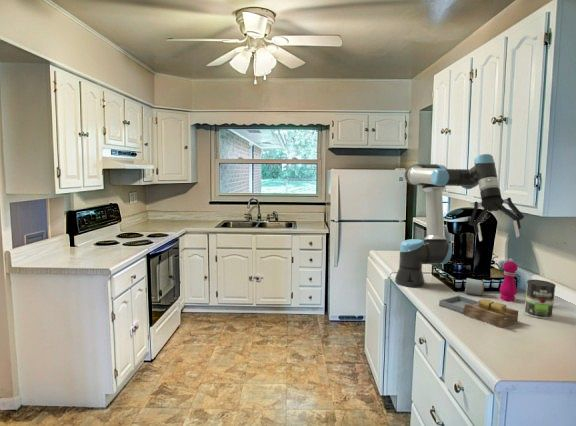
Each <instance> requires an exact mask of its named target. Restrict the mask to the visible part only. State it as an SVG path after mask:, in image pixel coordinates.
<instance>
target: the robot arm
mask: <svg viewBox="0 0 576 426" xmlns="http://www.w3.org/2000/svg"><path fill="white" fill-rule="evenodd" d="M473 161H474V162H473V163H474V165H473V166H472V167H471V168H467V169H466V168H465V169H461V168H459V169H457V168H447V167H446V166H445V165H443V164H437V163H435V164H433V163H430V164H428V163H426V164H423V163H416V164H412V165H409V166H408V167H407V168H406V169H405V172H404V180H406V182H407V183H408V184H409V185H412V186H413V185H414V186H421V187H422V191H423V192H424V193H425V215H426V216H425V218H426V220H425V221H426V236H425V237H424V238H423V239H419V238H416V239H414V238H411V239H406V240H405V239H404V240H403V241H401V243H400V248H399V262H398V263H399V265H398V266H399V267H398V270H397V272H396V275H395V278H394V283H396V284H397V285H400V286H402V287H403V286H404V287H409V288H419V287H420V288H421V287H423V286H424V285H425V278H424V274H423V265H444V264H447V263H448V262H449V261H450V260H451V258H452V255H453V247H452V244H451V243H450V242H448V238H447V237H445V234H444V209H443V208H444V206H443V202H444V201H443V191H445V189H446V186H447V187H449V186H450V187H452V186H453V187H462V188H463V189H465V190H471V189H473V188H476V187H478V189H479V191H480V199H481V201H480V202H479V201H475V202H473V211H472V214H471V216H470V219H469V222H468V225H469V226H473V227H474V232H475V234H478V235H477V236H478V240H479V242H482V241H483V236H482V230H481V225H480V223H479V222H480V221H481V220H482V219H483V218H484V216H485V214H486V213H487V211H488V212H489V213H490V212H498V211H500V212H502V213H504V214H505V215H506V216H508V217H509V218H510V219H512V220H513V222H512V223H513V224H512V225H513V228H514V232H515V237H516V239H519V237H520V230H519V229H521V227H522V226H521V221H522V220H523V219H524V218H525V215H524V214H523V213H522V212H521V211H520V210H519V209H518V207H517V206H516V205H515V204H514V203H513V201H512V198H511V197H507V198H504V199H503V197H502V193H501V189H500V185H499V179H498V174H497V169H496V162H495V160H494V157H493V154H490V153H484V154H479V155H477V156H475V158H474V159H473ZM503 204H505V205H508V207H509V208H510V209H511V210H509V209H508V208H506V207H505V206H504V205H503ZM480 206H481V207H482V208H483V210H482V211H481V212H480V214H479V215H478V216H477V218H476V219H475V216H476V214H477V211H478V208H480ZM474 220H475V221H474Z"/></svg>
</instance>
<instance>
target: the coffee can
mask: <svg viewBox="0 0 576 426" xmlns="http://www.w3.org/2000/svg"><path fill="white" fill-rule="evenodd" d="M526 283H527V286H526V293H525V303H524V305H525V306H524V314H525V315H527V316H528V317H529V316H530V317H532V318H536V319H540V320H550V319H552V318H553V309H554V300H555V292H556V291H555V290H556V284H555V283H553V282H551V281H546V280H541V279H528V280H527V281H526Z"/></svg>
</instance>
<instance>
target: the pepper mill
mask: <svg viewBox="0 0 576 426" xmlns="http://www.w3.org/2000/svg"><path fill="white" fill-rule="evenodd" d="M502 268H503V270H504V271H503V275H504V279H503V281H502V283H501V284H500V287H499V292H500V293H501V294H500V295H499V297H500V300H502V301H505V302H516V296H515V295H517V293H518V288H517V286H516V282H515V276H516V273H517V270H518V264H517V263H516V262H514V259H513V258H508V261H505V262H504V263H503V265H502Z"/></svg>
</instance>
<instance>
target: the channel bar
mask: <svg viewBox="0 0 576 426" xmlns="http://www.w3.org/2000/svg"><path fill="white" fill-rule="evenodd" d="M480 300H481V299H479V300H478V302H480ZM463 316H465V317H468V318H471V319H474V320H476V321H480V322H482V323H485V322H486V324H488V323H489V325H491V326H494V327H497V328H500V329H503V328H505V327H508V326H511V325H513V324H516V323H518V322H519V319H518V318H519V310H517V309H514V308H510V307H507V306H506V313H505V315H501V314H498V313H495V312H492V311H489V310H486V309H482V308H479V304H478V305H474V306H473V305H470V304H465V309H464V314H463Z"/></svg>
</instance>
